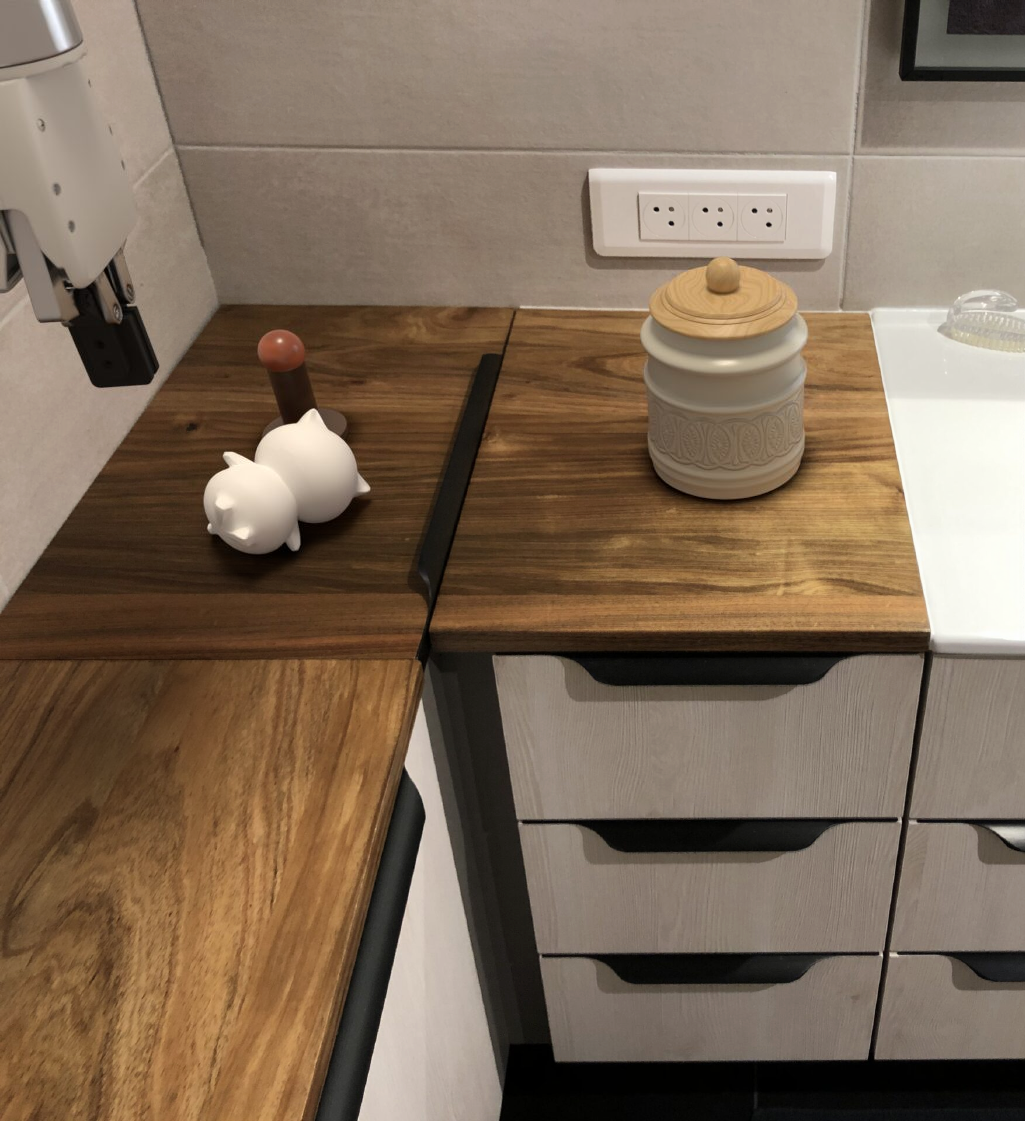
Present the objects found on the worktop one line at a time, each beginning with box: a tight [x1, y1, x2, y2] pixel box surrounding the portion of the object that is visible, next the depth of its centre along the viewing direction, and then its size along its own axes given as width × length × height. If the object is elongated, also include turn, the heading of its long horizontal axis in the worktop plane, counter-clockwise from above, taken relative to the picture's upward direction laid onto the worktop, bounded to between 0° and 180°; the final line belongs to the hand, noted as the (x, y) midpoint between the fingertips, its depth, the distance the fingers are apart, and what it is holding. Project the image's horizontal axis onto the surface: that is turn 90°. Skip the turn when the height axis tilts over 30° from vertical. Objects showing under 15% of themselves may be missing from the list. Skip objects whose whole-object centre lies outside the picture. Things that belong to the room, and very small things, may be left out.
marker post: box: [257, 329, 350, 442], centre depth 94 cm, size 7×7×10 cm
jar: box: [639, 256, 809, 500], centre depth 89 cm, size 13×13×18 cm
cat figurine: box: [203, 409, 371, 555], centre depth 86 cm, size 9×11×12 cm
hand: (127, 378), depth 63 cm, fingers closed
